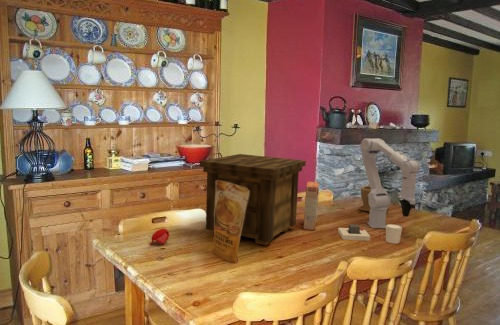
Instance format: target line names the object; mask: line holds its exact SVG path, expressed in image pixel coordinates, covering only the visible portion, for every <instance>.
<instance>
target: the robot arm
mask: <svg viewBox="0 0 500 325" xmlns="http://www.w3.org/2000/svg"><path fill="white" fill-rule="evenodd" d="M359 146H360V149H361V150H360V151H361V158H362V161H363V166H364V169H365V172H366V173H365V174H366V176H367V181H368V184H369V185H368V186H370V188H371V192H370V193H369V194H368V198H369V201H368V203H369V206H370V208H371V209H370V212H369V216H368V221H366V223H367V224H368V226H370V228H372V229H386V225H387V224H386V221H387V220H386V218H387V213H386V211H387V209H388V208H390V206H391V204H392V200H391V197H390V196H389V194H388V192H387V190H385V189H384V188H383V185H382V183H381V178H380V175H379V172H378V171H379V170H378V167H377V164H376V159H375V158H376V156H378V155H379V153H380V152H381V153H383V154H384V155H386V156H388V157H389V158H390V161H391V162H392V163H393V164H395V166H397V167H398V168H399V169H400V171H401V176H402V178H401V187H400V188H401V189H400V192H399V195H397V198H399V200H398V201H399V204H400V207H401V213H402V216H403V217H409V216H410V213H411V211H412V208H413V206H414V205H416V198H415V190H416V180H417V173H418V172H419V171H420V167H421V165H420V163H419V162H418V160H413V159H412V160H411V157H408V156H406V155H405V154H404V152H403V151H395V150H394V149H392V147H390V146H389V144H387V143H386V142H385V140H383V139H382V138H379V137H378V138H377V137H376V138H363V139H362V140H361V143H360V145H359ZM377 195H378V196H377Z"/></svg>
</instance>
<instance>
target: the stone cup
mask: <svg viewBox="0 0 500 325" xmlns="http://www.w3.org/2000/svg"><path fill="white" fill-rule="evenodd" d="M370 192H371V188H370V185H363V186H362V187H361V188H360V196H361V199H362V202H363V203H362V205H361V206H359V210H360V211H363V212H369V213H370V209H371V208H370V206H369V203H368V201H369V198H368V194H369V193H370ZM377 196H378V195H377ZM389 211H390V207H388V209H387V211H386V214H387V213H388V212H389Z"/></svg>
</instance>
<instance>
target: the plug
mask: <svg viewBox="0 0 500 325" xmlns="http://www.w3.org/2000/svg"><path fill="white" fill-rule="evenodd" d="M348 228H349V232H348V233H349V234H360V228H361V227H360V226H359V224H352V223H350V224H348Z"/></svg>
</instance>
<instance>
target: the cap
mask: <svg viewBox="0 0 500 325" xmlns="http://www.w3.org/2000/svg"><path fill="white" fill-rule="evenodd" d="M150 238H151V242H150V244H151V245H152V244H153V243H154V242H156V243H159V244H161V245H162V246H165V245H166V242H167V241H168V239H169V238H170V232H169V230H168V229H167V228H160V229H158V230H157V231H155V232H154V233H153V234H152V236H151V237H150Z"/></svg>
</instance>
